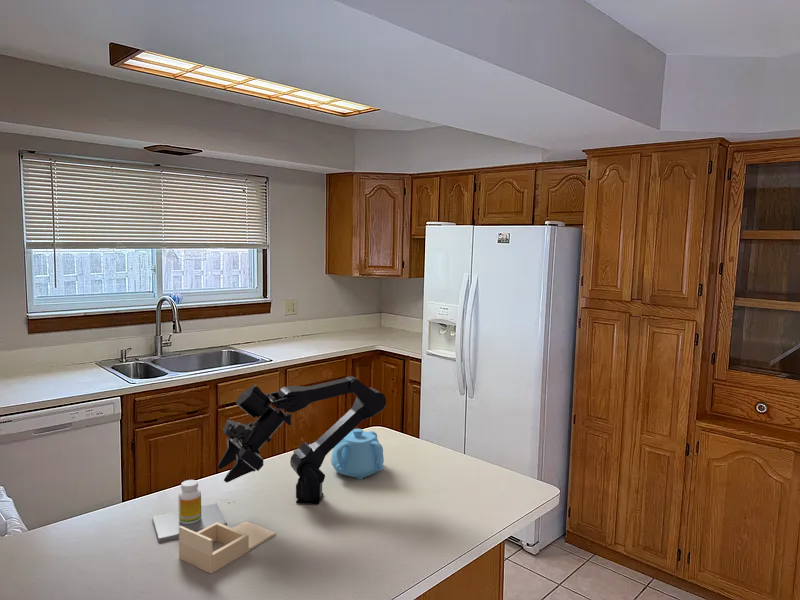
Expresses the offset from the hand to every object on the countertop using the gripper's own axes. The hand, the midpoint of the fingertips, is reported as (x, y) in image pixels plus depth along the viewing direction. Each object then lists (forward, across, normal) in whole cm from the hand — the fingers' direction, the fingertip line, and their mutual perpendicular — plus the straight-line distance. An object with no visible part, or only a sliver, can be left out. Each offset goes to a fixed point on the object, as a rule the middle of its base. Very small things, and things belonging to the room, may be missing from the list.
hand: (221, 474), depth 146 cm
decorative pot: (-22, -13, +39) cm, 47 cm away
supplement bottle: (+13, 0, +2) cm, 13 cm away
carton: (+9, +15, +7) cm, 19 cm away
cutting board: (+14, 0, +2) cm, 14 cm away
